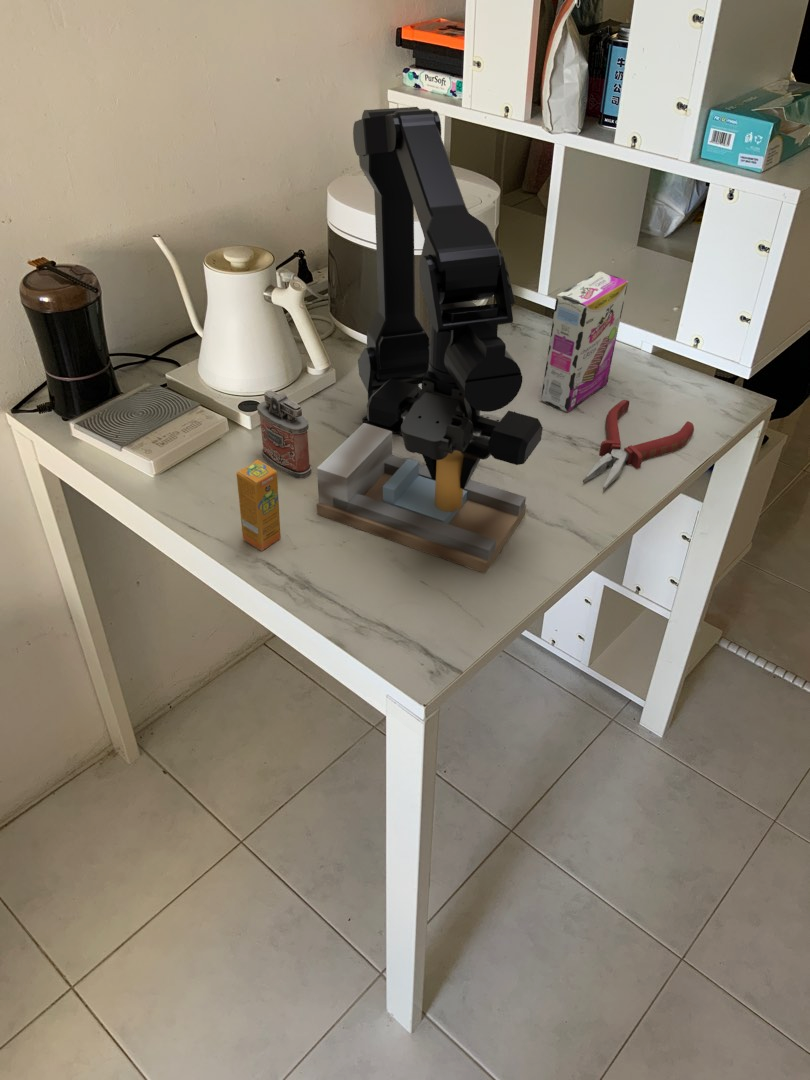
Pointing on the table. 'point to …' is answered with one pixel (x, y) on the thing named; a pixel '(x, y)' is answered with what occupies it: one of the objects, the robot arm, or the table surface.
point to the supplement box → (259, 504)
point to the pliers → (632, 453)
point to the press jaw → (428, 489)
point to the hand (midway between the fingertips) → (449, 482)
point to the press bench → (460, 520)
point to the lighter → (284, 435)
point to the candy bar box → (582, 340)
